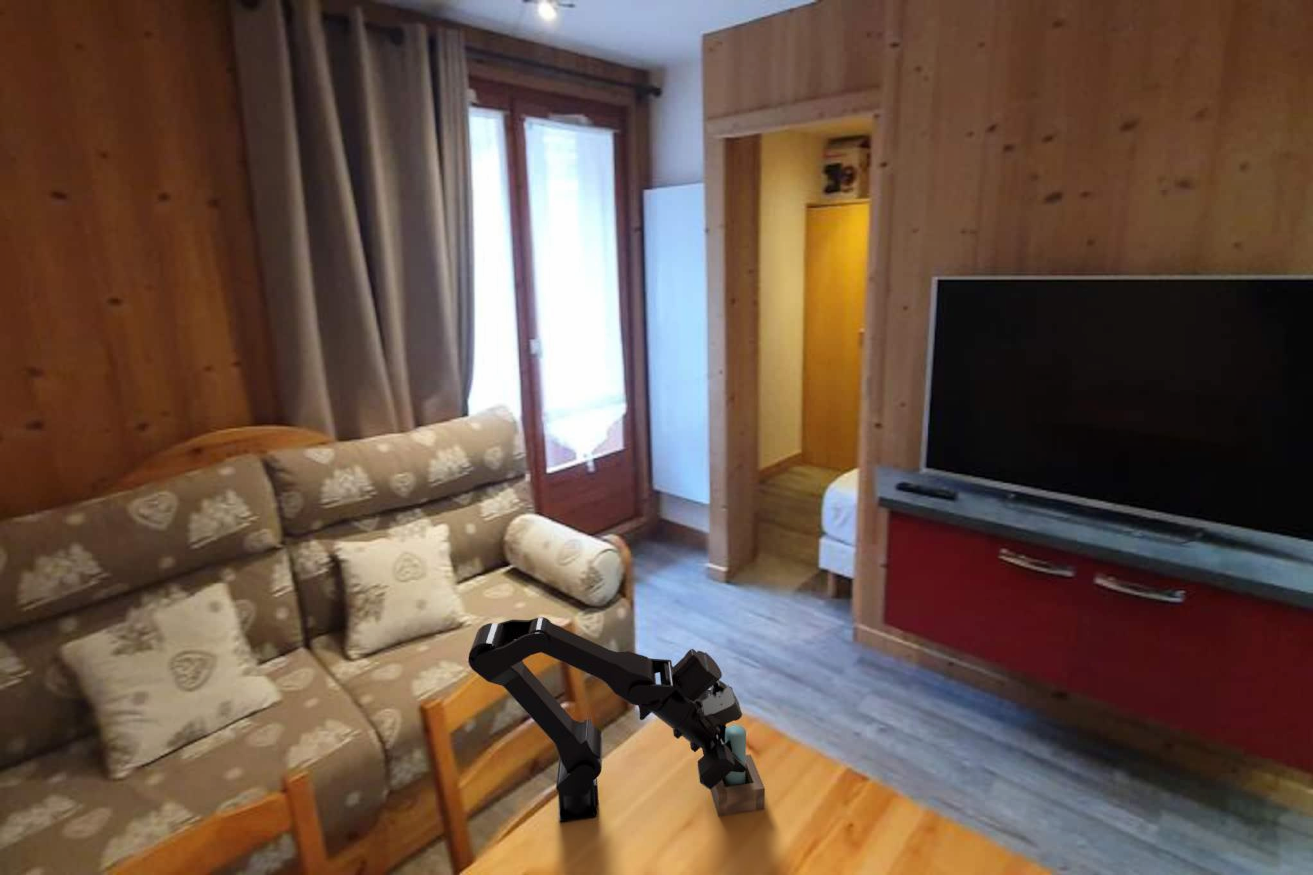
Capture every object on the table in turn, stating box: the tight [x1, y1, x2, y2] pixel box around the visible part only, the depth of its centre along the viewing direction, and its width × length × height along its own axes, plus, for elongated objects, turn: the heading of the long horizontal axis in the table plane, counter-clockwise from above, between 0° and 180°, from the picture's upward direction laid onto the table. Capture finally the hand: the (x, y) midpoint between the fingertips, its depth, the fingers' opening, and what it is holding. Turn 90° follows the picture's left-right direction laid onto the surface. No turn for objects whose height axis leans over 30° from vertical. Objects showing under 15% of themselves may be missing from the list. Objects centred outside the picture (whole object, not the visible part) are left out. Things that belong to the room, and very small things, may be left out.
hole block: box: [709, 753, 766, 817], centre depth 120 cm, size 8×8×4 cm
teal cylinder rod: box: [724, 724, 747, 787], centre depth 119 cm, size 4×4×13 cm
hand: (742, 761), depth 119 cm, fingers closed on teal cylinder rod, 4 cm apart
